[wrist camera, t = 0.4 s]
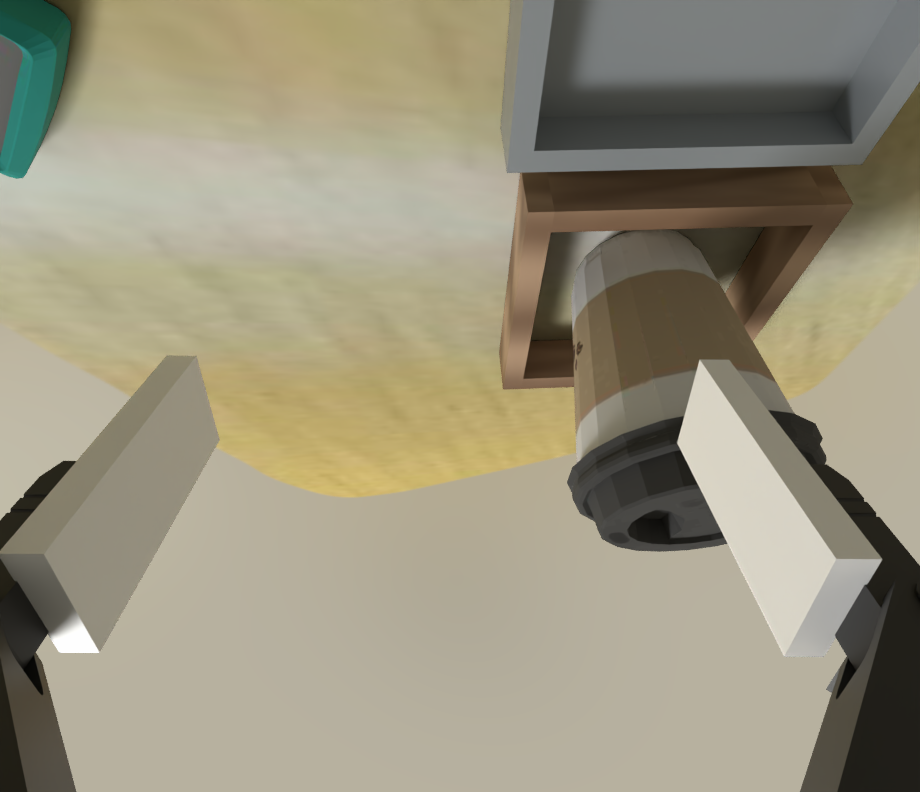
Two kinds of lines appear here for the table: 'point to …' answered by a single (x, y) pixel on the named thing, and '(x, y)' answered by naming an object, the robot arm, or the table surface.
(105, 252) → the table surface
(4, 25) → the digital multimeter
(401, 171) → the table surface
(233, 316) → the table surface
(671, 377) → the coffee cup
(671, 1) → the tray
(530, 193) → the collar
